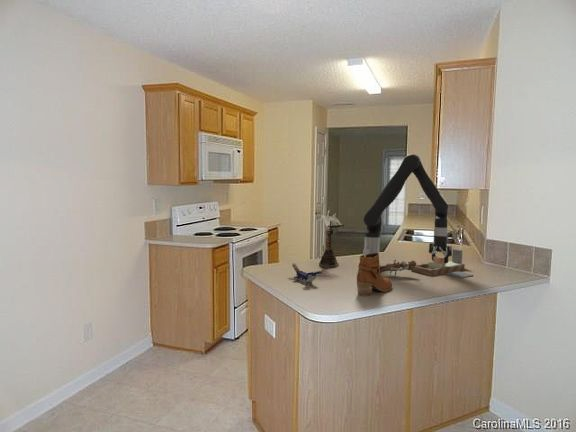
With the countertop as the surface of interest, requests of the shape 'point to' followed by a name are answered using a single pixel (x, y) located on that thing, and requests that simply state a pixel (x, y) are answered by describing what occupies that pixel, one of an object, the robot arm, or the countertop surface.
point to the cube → (439, 260)
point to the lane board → (431, 271)
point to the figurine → (398, 266)
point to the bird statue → (329, 241)
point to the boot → (371, 276)
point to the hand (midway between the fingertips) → (439, 261)
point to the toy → (305, 275)
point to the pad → (459, 274)
